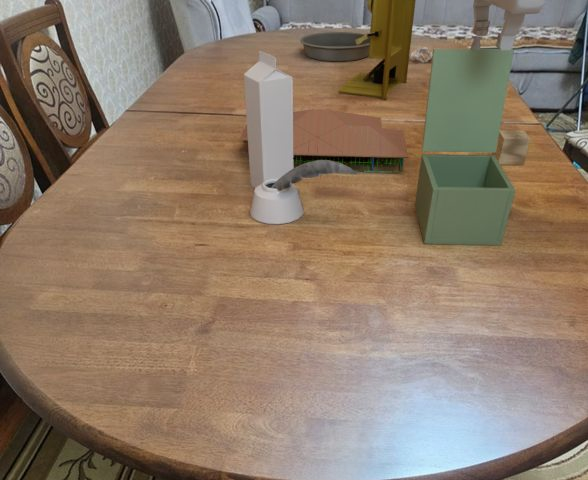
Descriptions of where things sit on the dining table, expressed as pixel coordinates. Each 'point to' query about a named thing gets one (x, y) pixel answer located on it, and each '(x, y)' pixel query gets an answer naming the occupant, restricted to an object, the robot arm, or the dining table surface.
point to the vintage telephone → (385, 48)
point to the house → (344, 136)
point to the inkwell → (288, 192)
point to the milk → (269, 120)
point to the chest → (463, 199)
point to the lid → (466, 99)
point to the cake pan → (335, 46)
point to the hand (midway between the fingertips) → (491, 41)
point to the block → (512, 147)
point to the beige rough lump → (421, 54)
